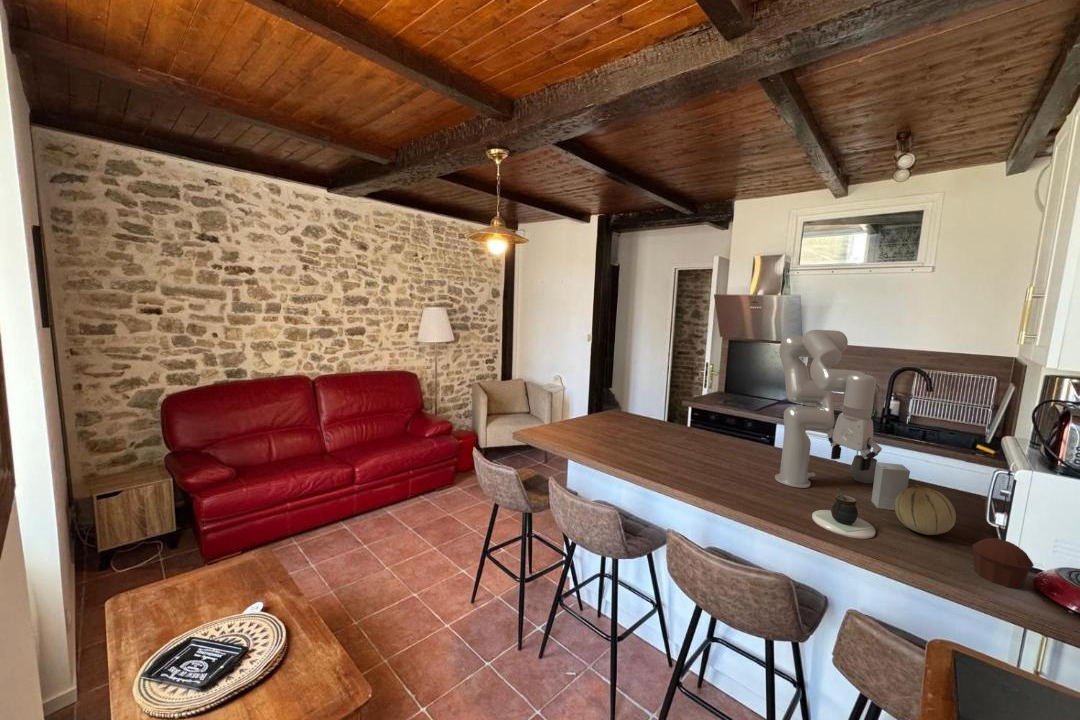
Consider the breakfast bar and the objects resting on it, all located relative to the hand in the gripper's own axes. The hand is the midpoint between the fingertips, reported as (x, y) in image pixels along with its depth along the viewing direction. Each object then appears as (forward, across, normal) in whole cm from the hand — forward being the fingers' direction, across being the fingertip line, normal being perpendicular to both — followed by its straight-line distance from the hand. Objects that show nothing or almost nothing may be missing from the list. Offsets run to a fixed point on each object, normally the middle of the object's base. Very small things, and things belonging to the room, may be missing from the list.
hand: (849, 464), depth 141 cm
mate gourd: (+19, +1, 0) cm, 19 cm away
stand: (+20, +1, 0) cm, 20 cm away
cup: (+21, -27, +46) cm, 57 cm away
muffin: (+20, +33, +15) cm, 41 cm away
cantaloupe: (+21, +10, +22) cm, 31 cm away
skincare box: (+21, -6, +30) cm, 37 cm away
